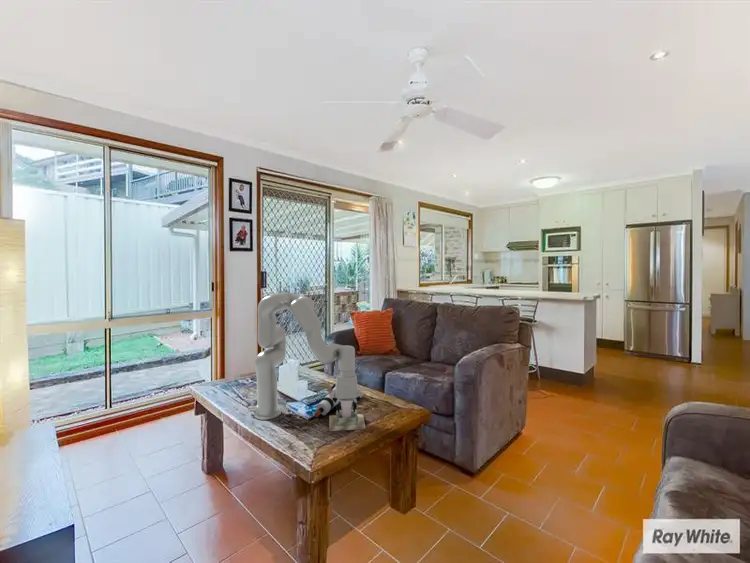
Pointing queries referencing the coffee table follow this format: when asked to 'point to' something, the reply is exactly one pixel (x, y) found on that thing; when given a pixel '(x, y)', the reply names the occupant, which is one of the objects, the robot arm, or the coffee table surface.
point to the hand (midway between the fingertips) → (346, 410)
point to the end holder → (346, 422)
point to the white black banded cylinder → (326, 404)
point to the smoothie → (346, 407)
